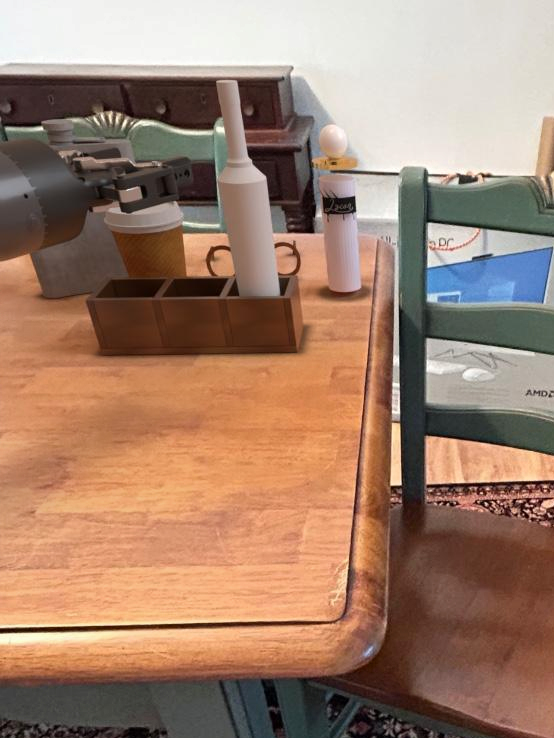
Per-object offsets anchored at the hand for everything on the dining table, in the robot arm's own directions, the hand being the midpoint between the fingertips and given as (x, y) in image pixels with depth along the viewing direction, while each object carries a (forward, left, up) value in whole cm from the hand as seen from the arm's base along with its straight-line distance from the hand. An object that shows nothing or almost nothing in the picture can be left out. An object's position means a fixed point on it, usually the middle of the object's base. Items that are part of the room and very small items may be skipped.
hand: (153, 164), depth 68 cm
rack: (-1, +11, -21) cm, 23 cm away
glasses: (+1, +38, -21) cm, 44 cm away
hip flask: (-19, +31, -21) cm, 42 cm away
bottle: (+6, +10, -20) cm, 23 cm away
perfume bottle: (+15, +28, -21) cm, 37 cm away
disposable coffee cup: (-9, +24, -21) cm, 33 cm away
